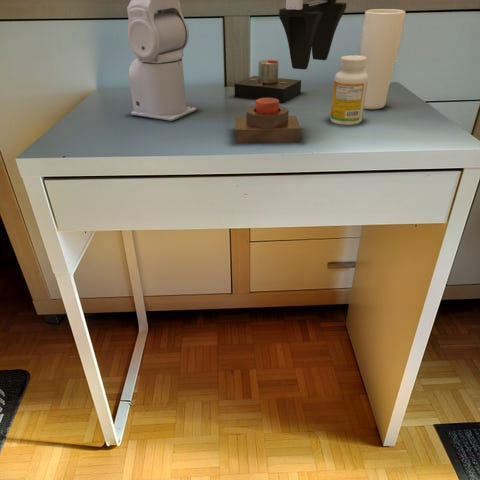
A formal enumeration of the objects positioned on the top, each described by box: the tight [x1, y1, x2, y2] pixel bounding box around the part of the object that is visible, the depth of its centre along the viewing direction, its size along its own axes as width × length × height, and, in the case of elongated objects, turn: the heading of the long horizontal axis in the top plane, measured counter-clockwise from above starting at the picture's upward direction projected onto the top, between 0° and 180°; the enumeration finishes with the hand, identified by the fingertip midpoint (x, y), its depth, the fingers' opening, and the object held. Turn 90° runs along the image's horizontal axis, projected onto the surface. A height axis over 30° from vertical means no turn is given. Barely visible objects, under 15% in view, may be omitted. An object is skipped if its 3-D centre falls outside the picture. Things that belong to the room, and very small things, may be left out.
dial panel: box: [234, 75, 302, 104], centre depth 93 cm, size 11×8×3 cm
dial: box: [257, 59, 280, 84], centre depth 91 cm, size 4×4×4 cm
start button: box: [255, 98, 280, 114], centre depth 70 cm, size 4×4×2 cm
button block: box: [234, 104, 302, 145], centre depth 72 cm, size 10×7×4 cm
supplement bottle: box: [330, 54, 368, 126], centre depth 76 cm, size 5×5×10 cm
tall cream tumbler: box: [359, 8, 406, 110], centre depth 81 cm, size 7×7×15 cm
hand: (310, 63), depth 68 cm, fingers open, 7 cm apart
